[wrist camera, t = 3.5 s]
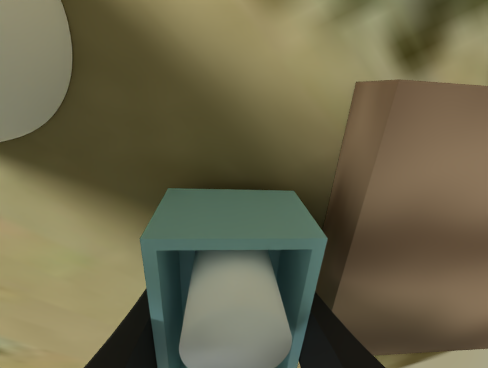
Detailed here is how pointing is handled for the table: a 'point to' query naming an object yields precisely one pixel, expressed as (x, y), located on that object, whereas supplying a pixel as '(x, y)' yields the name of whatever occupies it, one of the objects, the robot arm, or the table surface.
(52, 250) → the table surface
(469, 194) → the brown flat block
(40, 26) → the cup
